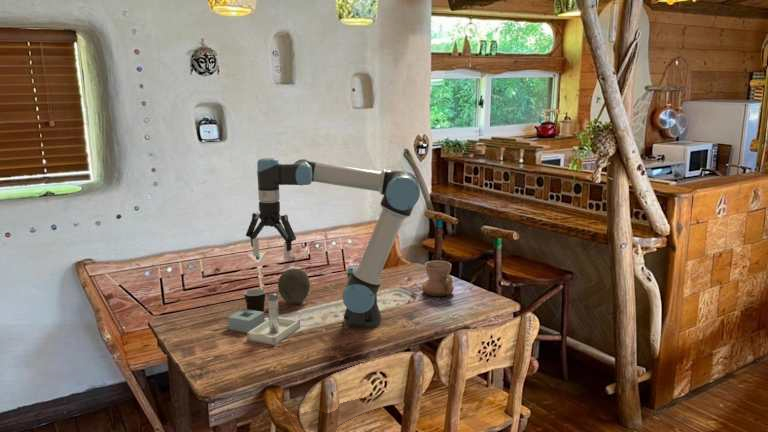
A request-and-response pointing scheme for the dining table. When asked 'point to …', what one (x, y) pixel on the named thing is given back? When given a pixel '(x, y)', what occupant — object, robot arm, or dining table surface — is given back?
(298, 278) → the cantaloupe
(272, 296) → the pin
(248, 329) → the block
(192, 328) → the dining table surface
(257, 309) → the coffee mug
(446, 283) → the ceramic jug
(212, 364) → the dining table surface
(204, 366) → the dining table surface
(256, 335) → the tray
